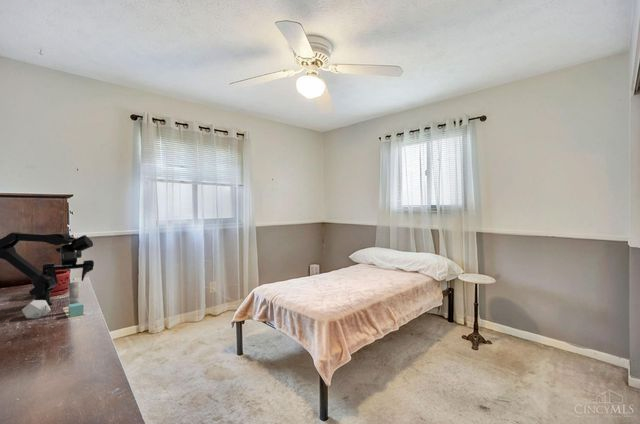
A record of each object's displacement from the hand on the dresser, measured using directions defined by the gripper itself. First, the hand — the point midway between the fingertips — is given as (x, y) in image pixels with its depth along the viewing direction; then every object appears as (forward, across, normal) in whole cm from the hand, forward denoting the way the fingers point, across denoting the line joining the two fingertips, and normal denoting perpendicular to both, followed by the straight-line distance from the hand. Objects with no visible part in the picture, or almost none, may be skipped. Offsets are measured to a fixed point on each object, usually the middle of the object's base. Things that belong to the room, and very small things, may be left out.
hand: (69, 282), depth 137 cm
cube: (+18, +1, -2) cm, 19 cm away
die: (+12, -11, +7) cm, 18 cm away
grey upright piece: (+15, +1, +3) cm, 16 cm away
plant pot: (-18, -3, +38) cm, 42 cm away
